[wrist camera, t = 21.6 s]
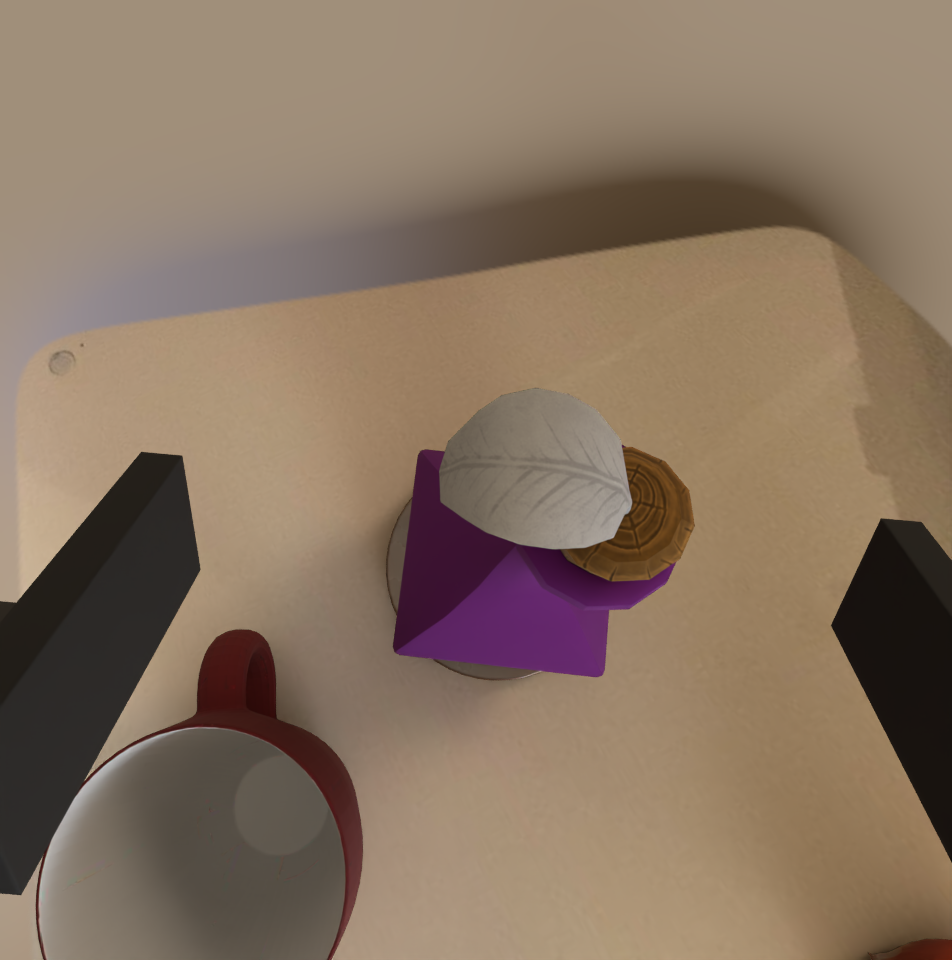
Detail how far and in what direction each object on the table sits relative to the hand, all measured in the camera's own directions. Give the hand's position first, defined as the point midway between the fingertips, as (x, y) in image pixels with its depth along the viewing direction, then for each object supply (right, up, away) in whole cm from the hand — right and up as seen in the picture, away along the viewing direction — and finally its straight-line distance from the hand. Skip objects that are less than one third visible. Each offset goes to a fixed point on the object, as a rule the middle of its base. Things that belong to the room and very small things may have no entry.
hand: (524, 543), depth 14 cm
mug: (-9, -10, +15) cm, 20 cm away
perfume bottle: (0, -2, +16) cm, 16 cm away
